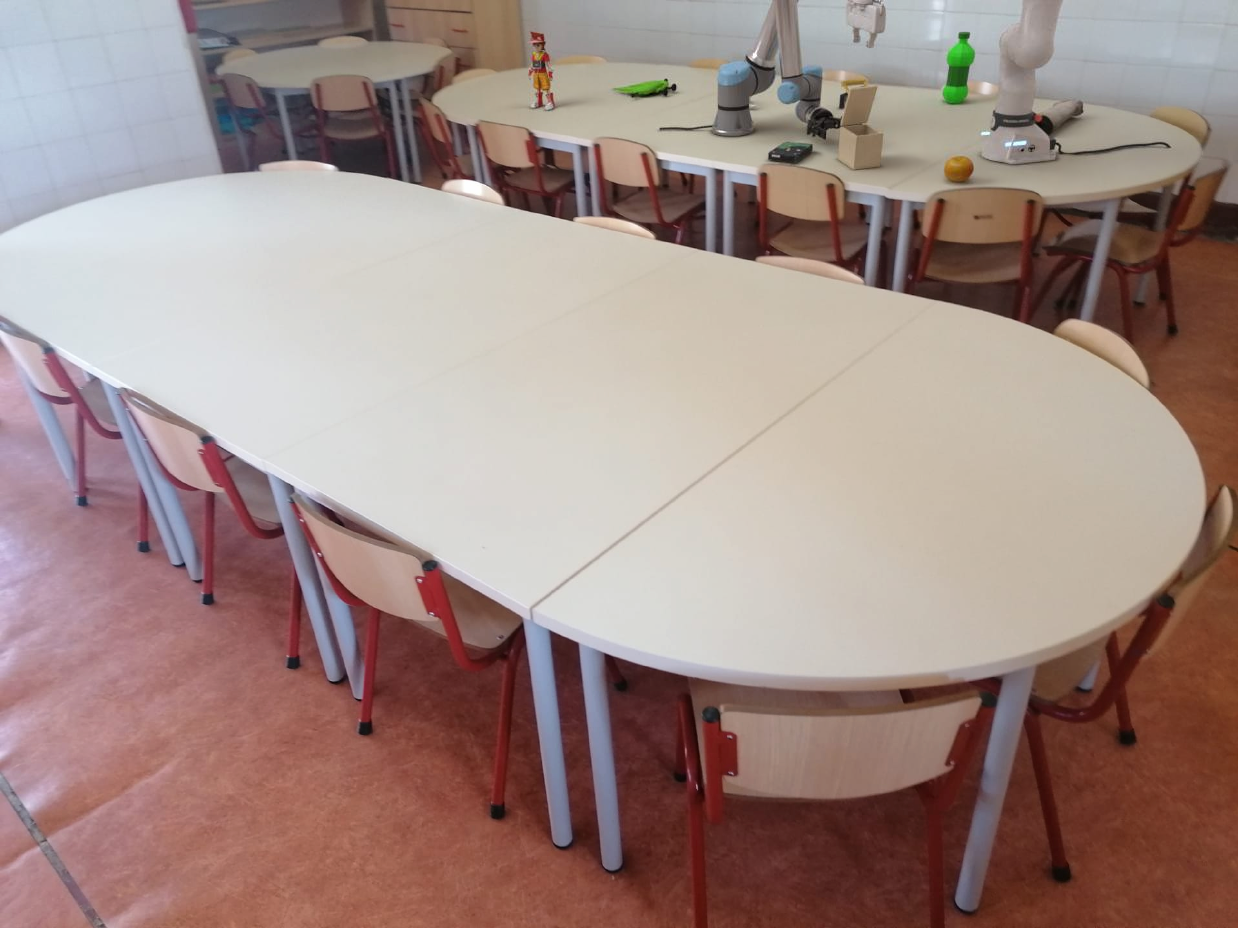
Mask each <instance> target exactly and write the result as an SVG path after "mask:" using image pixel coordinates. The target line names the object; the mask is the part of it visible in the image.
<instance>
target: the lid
mask: <svg viewBox="0 0 1238 928" xmlns="http://www.w3.org/2000/svg"><path fill="white" fill-rule="evenodd" d="M840 85H841V87H843V88H844V90H845V91H846V92H847V93H848V97H847V101H846V105H845V107H843V113H842V115H841V116H842V120H841V124H840V125H841V126H845V125H854V124H868V121H869V118H870V114H871V111H872V108H873V105H874V101H875V99H876V98H875V97H876V94H877V90H878V88H879V87H878V85H877V84H875V85H868V83H867V79H866V78H858V79H857V78H856V79H849V80H842V81H841V82H840ZM860 85H861V86H863V87H861V86H860ZM851 86H854V87H851ZM855 86H856V87H855ZM849 87H850V88H849ZM846 92H845V93H846Z"/></svg>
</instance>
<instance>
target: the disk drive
mask: <svg viewBox="0 0 1238 928" xmlns="http://www.w3.org/2000/svg"><path fill="white" fill-rule="evenodd" d="M813 148H814V144H813V143H806V142H805V143H804V142H793V141H792V142H791V141H785V142H783V143H781V144H780V145H778V146H777V147H774V148H773V149H772V150H769V151H768V152H767V154H768V155H767V159H768V160H769V161H776V162H781V163H782V162H783V163H790V164H791V163H793V164H795V163H798V162H799V161H800V160H802V159H804V158H805V157H806V156H808V155H810V154H811V153H812V152H813Z"/></svg>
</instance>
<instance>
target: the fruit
mask: <svg viewBox="0 0 1238 928" xmlns="http://www.w3.org/2000/svg"><path fill="white" fill-rule="evenodd" d="M974 169H975V166H974V162H973V161H972V160H971V159H970V158H969V157H968V156H964V155H957V156H953V157H951V158H949V159H948V160H946V162H945V164H944V166H943V175H944V177H945V178H946V179H947V180H948V181H951V182H957V183H959V182H960V183H961V182H965V181H967V180H968V179H969V178H971V176H972V175H973V174H974Z"/></svg>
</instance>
